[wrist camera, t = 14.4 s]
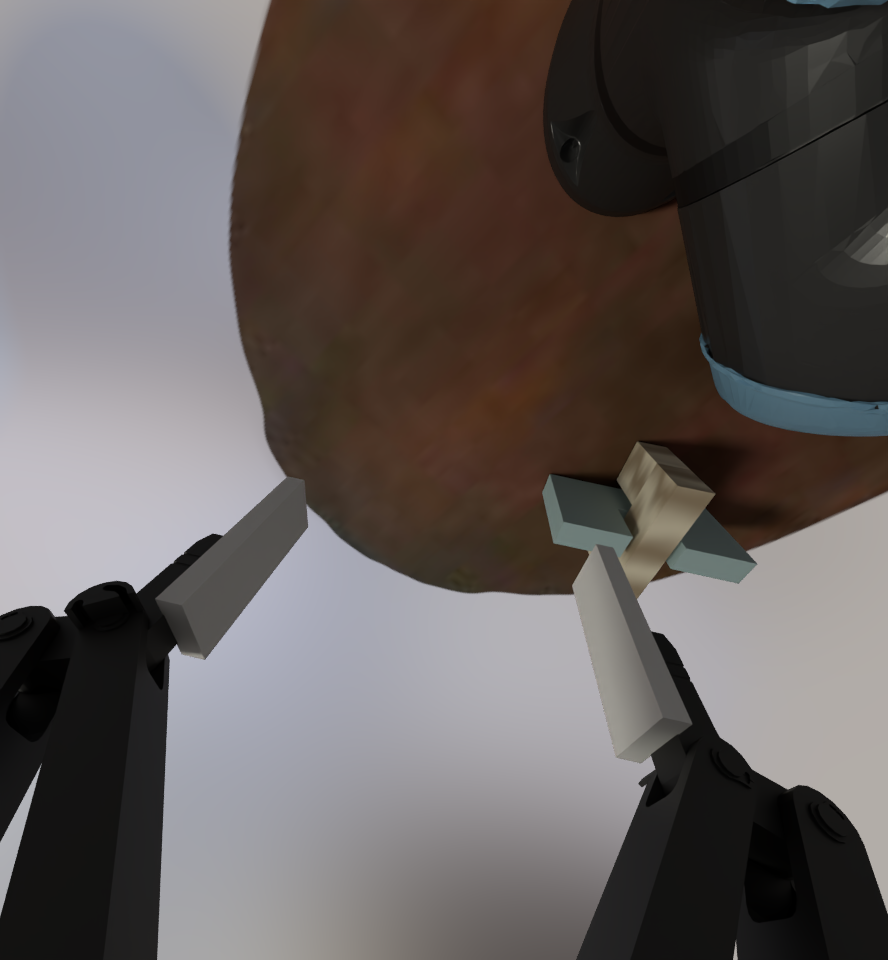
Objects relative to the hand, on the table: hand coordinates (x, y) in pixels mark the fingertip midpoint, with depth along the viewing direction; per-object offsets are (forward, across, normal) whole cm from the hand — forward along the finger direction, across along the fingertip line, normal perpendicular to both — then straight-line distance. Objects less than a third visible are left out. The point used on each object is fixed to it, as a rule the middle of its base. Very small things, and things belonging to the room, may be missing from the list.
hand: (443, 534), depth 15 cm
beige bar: (+27, +22, -11) cm, 36 cm away
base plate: (+27, +22, -11) cm, 36 cm away
